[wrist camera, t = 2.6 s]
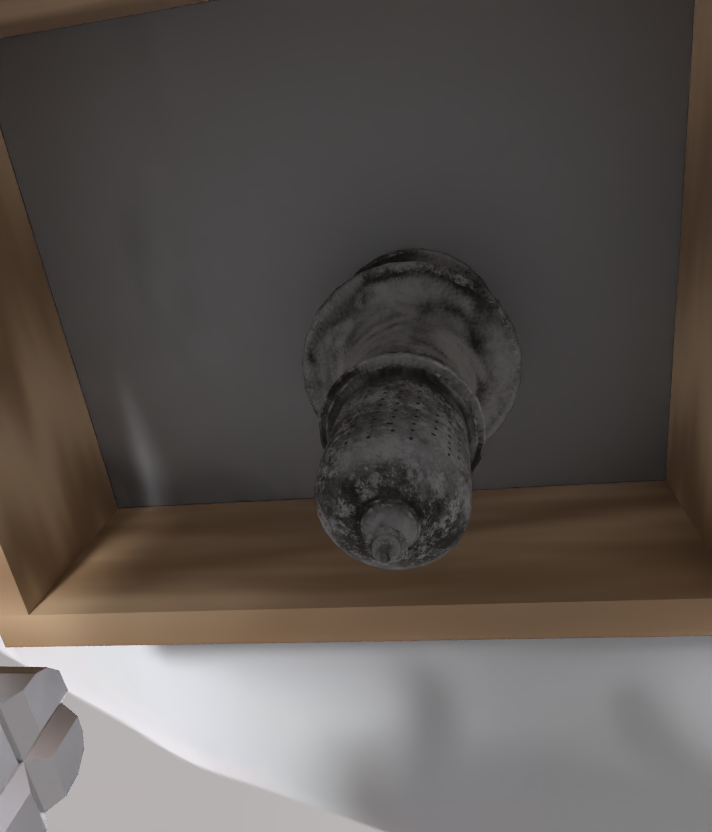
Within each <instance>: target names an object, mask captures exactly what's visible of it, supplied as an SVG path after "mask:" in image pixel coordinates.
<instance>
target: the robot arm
mask: <svg viewBox="0 0 712 832" xmlns="http://www.w3.org/2000/svg"><path fill="white" fill-rule="evenodd" d="M67 691H68V690H67V687H66V685H65V683H64V681H63V678H62V676H61V674H60V671H59V670H55V669H51V668H48V667H0V832H46V831H47V828H46V817H45V812H46V811H48V810H49V809H50V808H51V807H53V806H54V805H55V804H56V803H58V802H59V801H60V800H62V799H63V798H64V797H65V796H67V793H68V792H69V790H70V788H71V786H72V784H73V783H74V781H75V779H76V777H77V775H78V772H79V768H80V764H81V759H82V756H83V752H84V741H83V730H82V727H81V725H80V722H79V719H78V716H77V715H75V714H74V713H73V712H72V711H71V710H69V709H68V708H67V707H66V706H65V705H63V704H62V702H63V700H64V697H65V695H66V693H67Z"/></svg>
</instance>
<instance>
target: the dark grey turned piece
mask: <svg viewBox="0 0 712 832" xmlns="http://www.w3.org/2000/svg"><path fill="white" fill-rule="evenodd" d="M302 366H303V374H304V382H305V389H306V392H307V394H308V396H309V399H310V401H311V404H312V406H313V409H314V411H315V413H316V415H317V416H318V417H319V419H320V422H319V427H320V435H321V443H322V446H323V448H324V450H325V451H324V454H323V457H322V460H321V462H320V465H319V468H318V471H317V476H316V482H315V488H314V491H315V501H316V509H317V515H318V517H319V519H320V521H321V524H322V526H323V528H324V530H325V532H326V533H327V534H328V535H329V537H330V538H331V539H332V540H333V542H334V543H335V544H336V545H337V546H338V547H340V548H341V549H342V550H344V551H345V552H346V553H347V554H349V555H350V556H351V557H353V558H355V559H358V560H360V561H362V562H364V563H366V564H368V565H370V566H375V567H379V568H383V569H393V570H405V569H410V568H415V567H420V566H425V565H427V564H429V563H431V562H434V561H436V560H438V559H440V558H442V557H443V556H444V555H446V554H447V553H448V552H449V551H450V550H452V549H453V548H454V547H455V546H456V545H457V543H458V542H459V540H460V539H461V537H462V536H463V534H464V533H465V530H466V528H467V525H468V522H469V518H470V515H471V511H472V508H473V499H472V480H471V474H472V472H473V471H474V469H475V468H476V466H477V464H478V463H479V461H480V459H481V456H482V452H483V449H484V445H485V442H486V440H487V439H488V438H490V437H491V436H492V435H493V434H494V433H495V432H496V431H497V430H498V429H499V428H500V426H501V424H502V423H503V421H504V420H505V418H506V417H507V415H508V414H509V412H510V410H511V409H512V407H513V404H514V401H515V398H516V394H517V391H518V388H519V385H520V381H521V352H520V348H519V344H518V341H517V337H516V333H515V330H514V326H513V324H512V323H511V321H510V319H509V318H508V316H507V314H506V313H505V311H504V310H503V308H502V306H501V305H500V303H499V301H498V300H497V299H496V298H495V297H493V296H492V295H491V293H490V292H489V290H488V288H487V287H486V285H485V284H484V282H483V280H482V279H481V278H480V277H479V276H478V275H477V274H476V273H475V272H473V271H472V270H471V269H470V268H469V267H468V266H467V265H466V264H464V263H463V262H461V261H459V260H457V259H455V258H453V257H451V256H449V255H447V254H445V253H440V252H435V251H430V250H425V249H412V250H399V251H396V252H393V253H390V254H387V255H384V256H381V257H378V258H377V259H375V260H374V261H372V262H371V263H369V264H368V265H366V266H365V267H363V268H362V269H360V270H359V271H358V272H357V273H356V275H355V276H354V277H353V278H351V279H350V280H348V281H347V282H345V283H344V284H342V285H341V286H339V287H338V288H337V289H336V290H335V291H334V292H333V293H332V294H331V296H330V297H329V298H328V299H327V300H326V301H325V303H324V304H323V305H322V306H321V307H320V308H319V310H318V311H317V313H316V316H315V318H314V320H313V322H312V324H311V326H310V329H309V331H308V333H307V335H306V340H305V347H304V353H303V360H302Z"/></svg>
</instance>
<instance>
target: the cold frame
mask: <svg viewBox="0 0 712 832" xmlns="http://www.w3.org/2000/svg"><path fill="white" fill-rule="evenodd" d="M208 1H213V0H0V38H5V37H10V36H16V35H22V34H27V33H33V32H39V31H44V30H50V29H56V28H61V27H67V26H72V25H78V24H84V23H89V22H95V21H101V20H106V19H112V18H118V17H123V16H129V15H134V14H140V13H146V12H151V11H157V10H163V9H168V8H174V7H180V6H185V5H191V4H196V3H202V2H208ZM472 499H473V508H472V511H471V515H470V518H469V522H468V525H467V528H466V530H465V533H464V534H463V536H462V537H461V539H460V540H459V542H458V543H457V545H456V546H455V547H454V548H453V549H452V550H450V551H449V552H448V553H447V554H446V555H444V556H443V557H442V558H440V559H438V560H436V561H434V562H431V563H429V564H427V565H425V566H420V567H415V568H410V569H405V570H393V569H383V568H379V567H375V566H370V565H368V564H366V563H364V562H362V561H360V560H358V559H355V558H353V557H351V556H350V555H349V554H347V553H346V552H345V551H344V550H342V549H341V548H340V547H338V546H337V545H336V544H335V543H334V542H333V540H332V539H331V538H330V537H329V535H328V534H327V533H326V532H325V530H324V528H323V526H322V524H321V521H320V519H319V517H318V515H317V509H316V501H315V498H310V499H291V500H271V501H252V502H232V503H213V504H194V505H174V506H155V507H135V508H118V507H117V503H116V500H115V497H114V494H113V490H112V487H111V484H110V481H109V478H108V474H107V471H106V468H105V465H104V461H103V458H102V455H101V452H100V449H99V445H98V442H97V439H96V436H95V432H94V429H93V426H92V423H91V419H90V416H89V413H88V410H87V407H86V403H85V400H84V397H83V394H82V390H81V387H80V384H79V381H78V378H77V374H76V371H75V368H74V365H73V361H72V358H71V355H70V352H69V349H68V345H67V342H66V339H65V336H64V332H63V329H62V326H61V323H60V320H59V316H58V313H57V310H56V307H55V303H54V300H53V297H52V294H51V290H50V287H49V284H48V281H47V278H46V274H45V271H44V268H43V265H42V261H41V258H40V255H39V252H38V249H37V245H36V242H35V239H34V236H33V232H32V229H31V226H30V223H29V220H28V216H27V213H26V210H25V207H24V203H23V200H22V197H21V194H20V191H19V187H18V184H17V181H16V178H15V174H14V171H13V168H12V165H11V162H10V158H9V155H8V152H7V149H6V145H5V142H4V139H3V136H2V132H1V129H0V635H1V637H2V640H3V642H4V644H5V647H50V646H112V645H173V644H235V643H296V642H358V641H420V640H481V639H543V638H604V637H666V636H712V0H695V9H694V25H693V42H692V58H691V74H690V90H689V107H688V123H687V139H686V155H685V171H684V188H683V204H682V220H681V236H680V253H679V269H678V285H677V301H676V318H675V334H674V350H673V366H672V383H671V399H670V415H669V431H668V447H667V464H666V480H660V481H641V482H621V483H602V484H582V485H563V486H544V487H524V488H505V489H485V490H472Z"/></svg>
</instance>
